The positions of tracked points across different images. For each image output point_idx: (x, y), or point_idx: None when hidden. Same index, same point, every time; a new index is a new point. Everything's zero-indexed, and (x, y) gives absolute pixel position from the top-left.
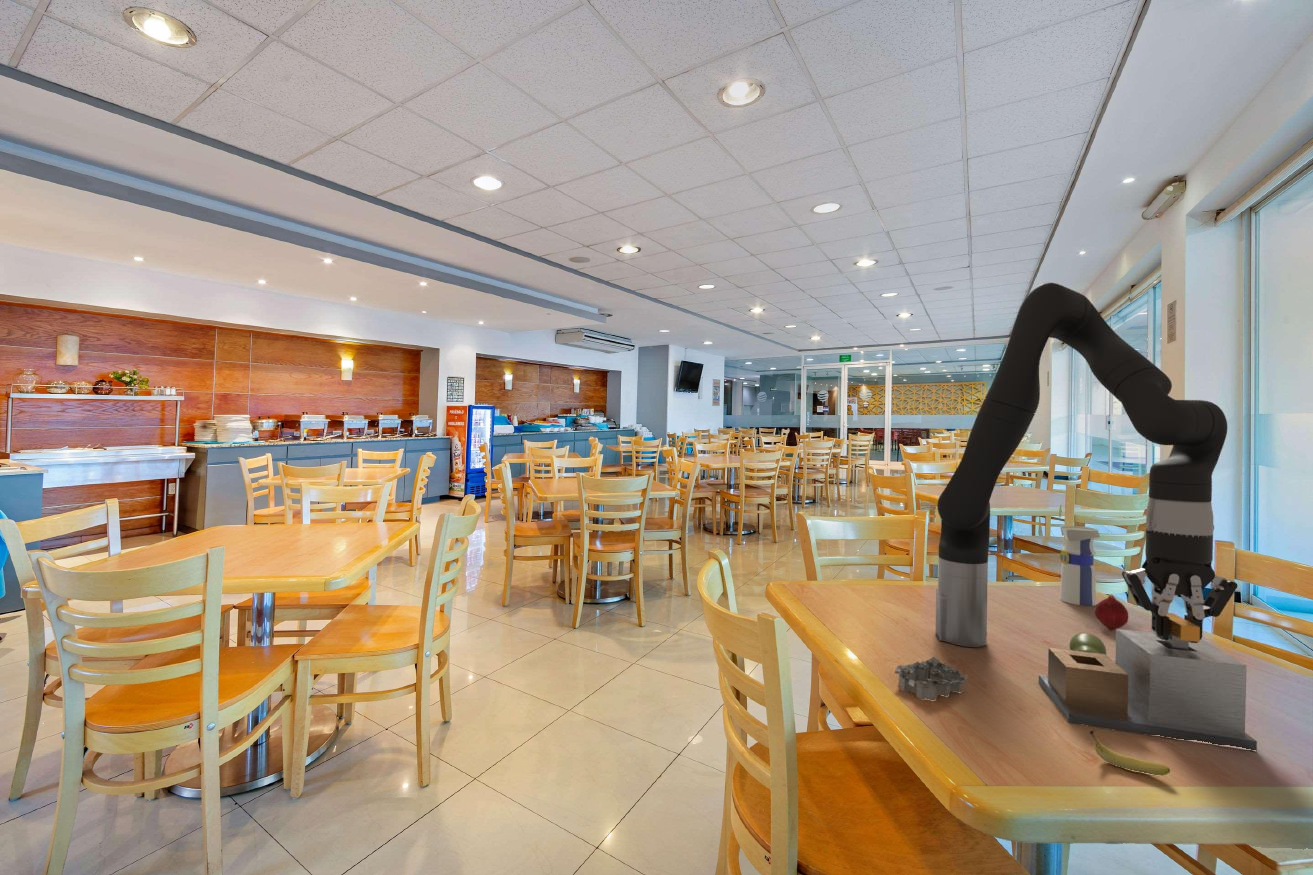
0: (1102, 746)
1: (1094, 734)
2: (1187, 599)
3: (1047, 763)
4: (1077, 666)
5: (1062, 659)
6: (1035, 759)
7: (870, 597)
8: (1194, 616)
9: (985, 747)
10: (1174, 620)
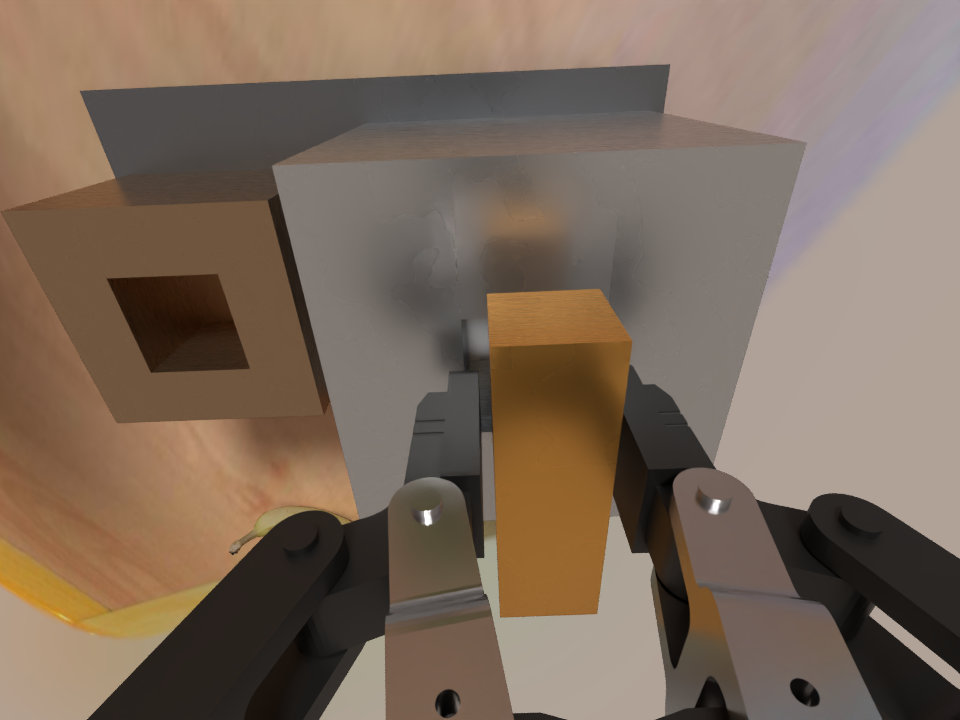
0: (264, 535)
1: (242, 545)
2: (689, 674)
3: (186, 540)
4: (154, 407)
5: (92, 356)
6: (166, 536)
7: None
8: (652, 571)
9: (77, 531)
10: (512, 546)
